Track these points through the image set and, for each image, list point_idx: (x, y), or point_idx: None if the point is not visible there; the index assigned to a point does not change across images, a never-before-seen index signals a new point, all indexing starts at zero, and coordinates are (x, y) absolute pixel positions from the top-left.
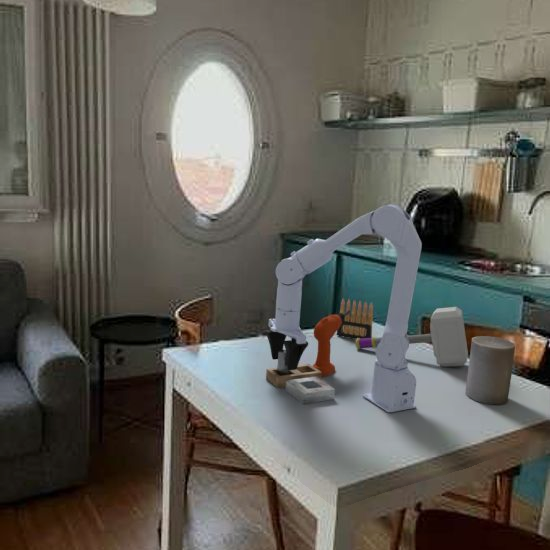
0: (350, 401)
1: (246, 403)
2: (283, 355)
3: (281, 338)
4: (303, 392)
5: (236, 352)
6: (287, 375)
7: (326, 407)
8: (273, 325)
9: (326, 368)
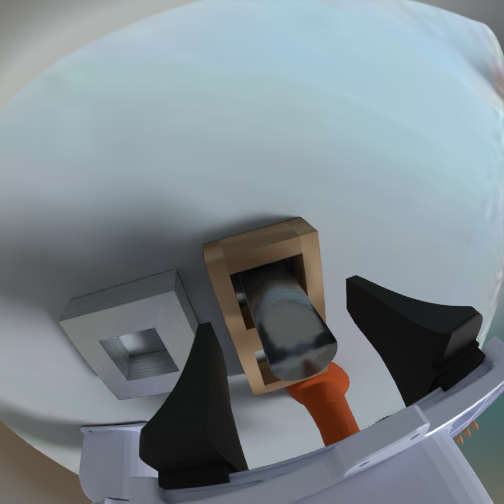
0: (118, 399)
1: (61, 102)
2: (272, 344)
3: (400, 370)
4: (66, 322)
5: (483, 182)
6: (233, 303)
7: (66, 348)
8: (444, 424)
9: (295, 399)
